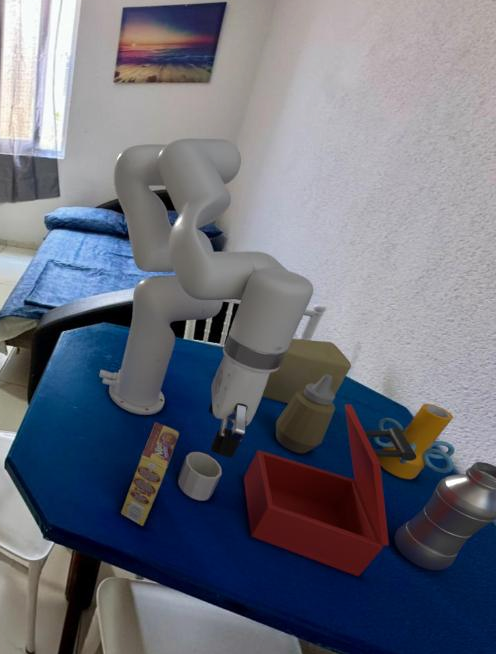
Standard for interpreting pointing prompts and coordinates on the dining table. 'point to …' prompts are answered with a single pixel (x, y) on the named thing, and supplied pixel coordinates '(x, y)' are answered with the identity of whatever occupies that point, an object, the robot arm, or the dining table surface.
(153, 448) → the candy box
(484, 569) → the dining table surface
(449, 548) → the silver metal bottle
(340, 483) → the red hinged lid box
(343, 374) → the cheese
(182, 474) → the container
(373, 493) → the red box lid
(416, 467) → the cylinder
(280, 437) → the squeeze bottle
